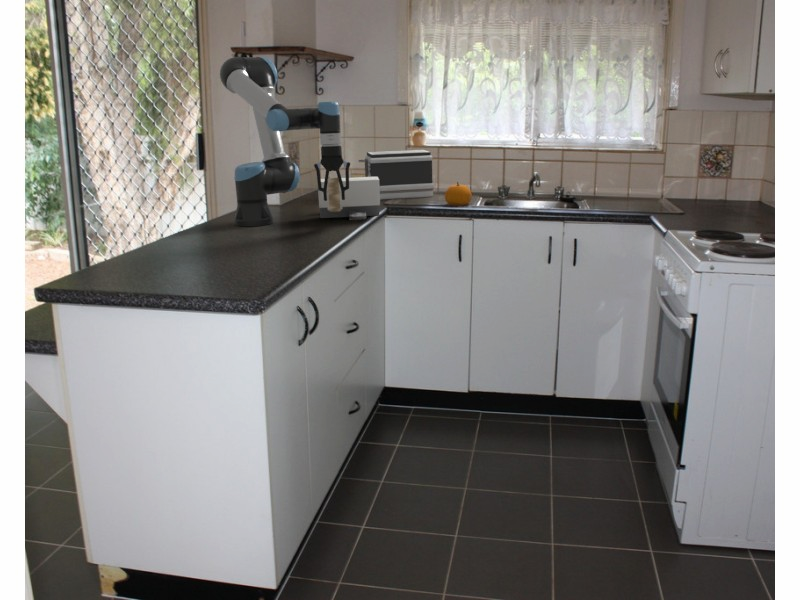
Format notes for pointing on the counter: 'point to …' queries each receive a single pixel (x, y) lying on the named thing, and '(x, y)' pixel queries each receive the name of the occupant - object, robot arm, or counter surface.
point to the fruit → (458, 195)
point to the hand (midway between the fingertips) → (335, 209)
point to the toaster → (401, 173)
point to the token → (357, 215)
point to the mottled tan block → (334, 194)
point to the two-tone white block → (354, 197)
